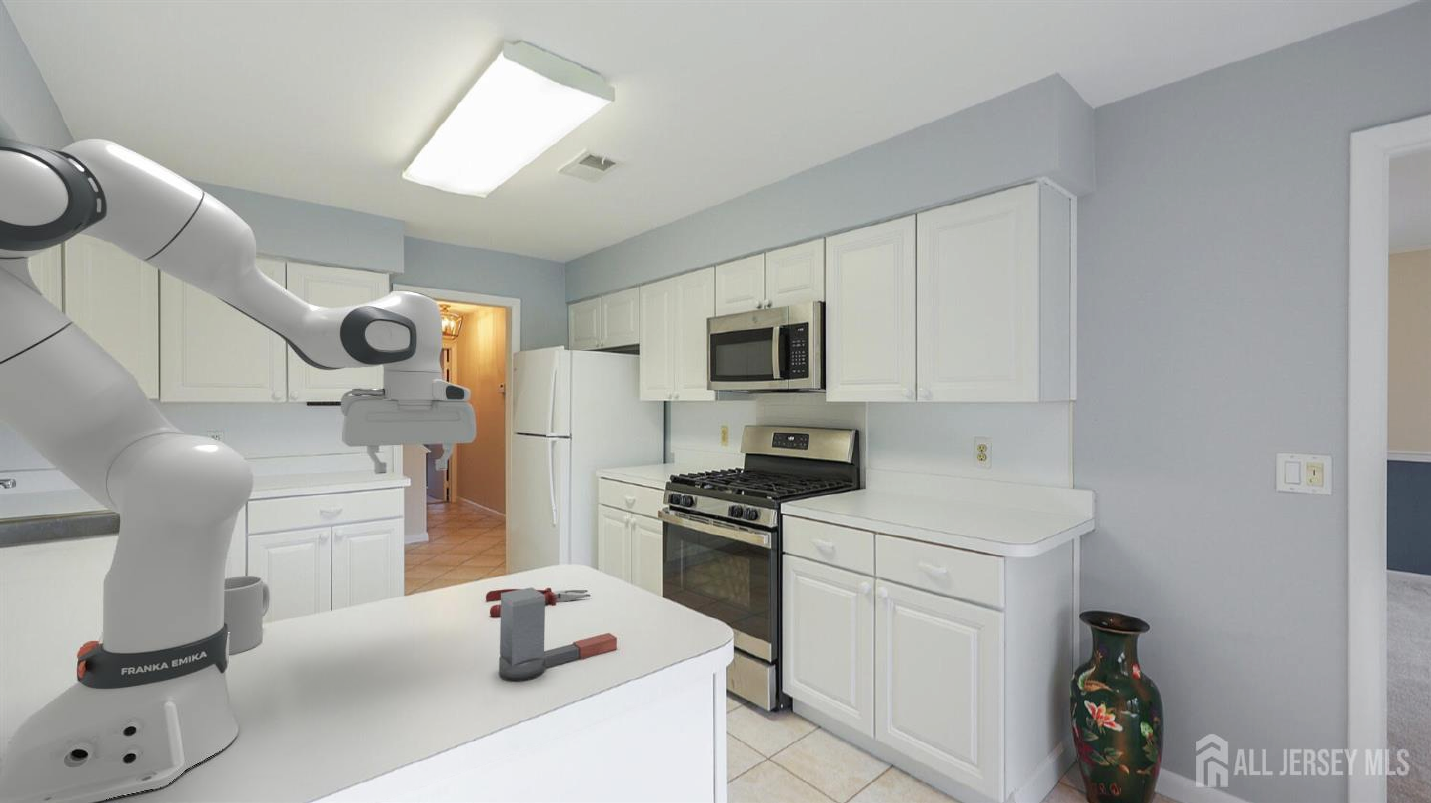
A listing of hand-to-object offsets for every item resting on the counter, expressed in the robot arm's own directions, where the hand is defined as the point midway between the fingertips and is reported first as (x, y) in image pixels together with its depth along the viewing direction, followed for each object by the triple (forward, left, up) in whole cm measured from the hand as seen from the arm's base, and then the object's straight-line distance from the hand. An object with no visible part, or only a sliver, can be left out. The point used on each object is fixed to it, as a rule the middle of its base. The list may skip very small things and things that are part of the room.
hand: (411, 471), depth 103 cm
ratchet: (+19, -17, -31) cm, 40 cm away
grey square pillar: (+13, -17, -29) cm, 36 cm away
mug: (-22, +23, -31) cm, 45 cm away
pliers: (+27, +11, -32) cm, 43 cm away
